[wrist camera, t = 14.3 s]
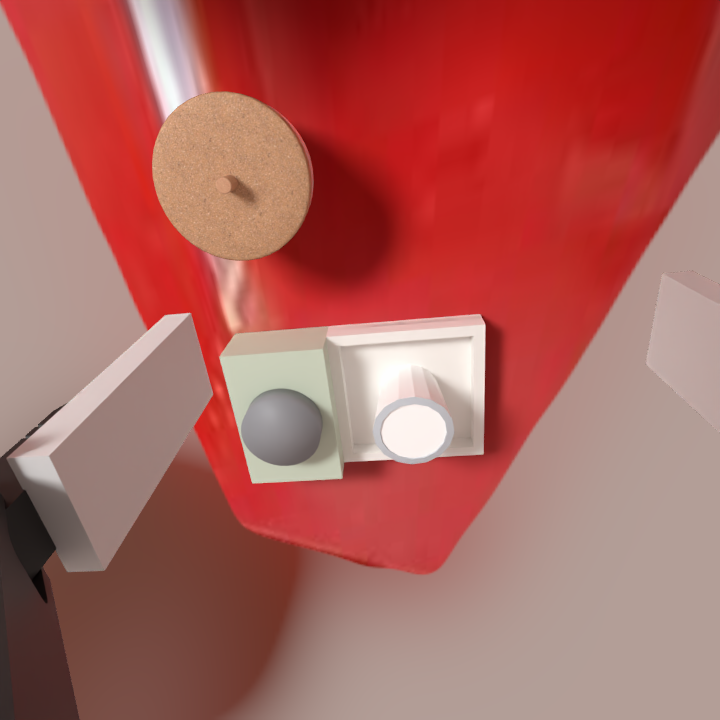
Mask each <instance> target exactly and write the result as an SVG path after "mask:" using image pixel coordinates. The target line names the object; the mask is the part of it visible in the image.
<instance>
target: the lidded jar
mask: <svg viewBox="0 0 720 720" xmlns="http://www.w3.org/2000/svg"><path fill="white" fill-rule="evenodd" d="M152 170H153V180H154V185H155V190H156V193H157V196H158V199H159V201H160V204H161V206H162V208H163V210H164V212H165V214H166V215H167V217H168V218H169V220H170V221H171V223H172V224H173V226H174V227H175V228H176V229H177V230H178V231H179V232H180V233H181V234H182V236H184V237H185V238H186V239H187V240H188V241H190V242H191V243H192V244H193V245H195V246H197V247H198V248H200V249H201V250H203V251H205V252H207V253H209V254H212V255H214V256H217V257H220V258H224V259H229V260H237V261H238V260H253V259H259V258H262V257H265V256H267V255H270V254H272V253H274V252H275V251H277V250H279V249H280V248H282V247H283V246H284V245H285V244H287V243H288V242H289V241H290V240H291V239H292V237H293V236H294V235H295V234H296V233H297V231H298V230H299V228H300V227H301V225H302V223H303V222H304V219H305V217H306V214H307V212H308V209H309V206H310V203H311V199H312V195H313V185H314V178H313V167H312V162H311V158H310V155H309V152H308V150H307V147H306V145H305V143H304V141H303V139H302V137H301V136H300V134H299V133H298V132H297V130H296V129H295V127H294V126H293V125H292V124H291V123H290V122H289V121H288V120H287V119H286V118H285V117H284V116H283V115H282V114H280V113H279V112H278V111H276V110H275V109H274V108H272V107H270V106H268V105H267V104H265V103H263V102H261V101H259V100H257V99H255V98H252V97H249V96H246V95H243V94H239V93H233V92H210V93H206V94H201V95H198V96H196V97H194V98H191V99H189V100H187V101H186V102H184V103H183V104H182V105H180V106H179V107H177V108H176V109H175V110H174V111H173V112H172V113H171V114H170V116H169V117H168V118H167V120H166V121H165V123H164V124H163V126H162V127H161V130H160V132H159V134H158V136H157V139H156V143H155V147H154V151H153V161H152Z"/></svg>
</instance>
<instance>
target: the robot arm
mask: <svg viewBox="0 0 720 720" xmlns="http://www.w3.org/2000/svg"><path fill="white" fill-rule="evenodd" d="M646 365H647V366H648V367H649V368H650V369H651V370H652V371H653V372H654V373H655V374H656V375H658V376H659V377H660V378H661V379H662V380H663V381H664V382H665V383H666V384H667V385H668V386H669V387H671V388H672V389H673V390H674V391H675V392H676V393H677V394H678V395H679V396H680V397H681V398H682V399H683V400H684V401H686V402H687V403H688V404H689V405H690V406H691V407H692V408H693V409H694V410H695V411H696V412H697V413H699V414H700V415H701V416H702V417H703V418H704V419H705V420H706V421H707V422H708V423H709V424H710V425H711V426H713V427H714V428H715V429H716V430H717V431H718V432H719V433H720V284H718V283H716V282H714V281H712V280H710V279H708V278H706V277H704V276H701V275H700V274H698V273H696V272H694V271H684V272H671V273H662V276H661V282H660V287H659V293H658V298H657V304H656V309H655V315H654V320H653V326H652V331H651V337H650V343H649V348H648V353H647V359H646ZM212 396H213V392H212V388H211V384H210V381H209V377H208V374H207V370H206V366H205V363H204V359H203V356H202V352H201V348H200V345H199V341H198V338H197V334H196V330H195V327H194V323H193V319H192V316H191V313H185V314H173V315H165V316H164V317H163V318H162V319H161V320H160V321H158V322H157V323H156V324H155V325H154V326H153V327H152V328H151V329H150V330H148V331H147V332H146V333H145V334H144V335H143V336H142V337H141V338H140V339H139V340H137V341H136V342H135V343H134V344H133V345H132V346H131V347H130V348H129V349H128V350H126V351H125V352H124V353H123V354H122V355H121V356H119V357H118V358H117V359H116V360H115V361H114V362H113V363H112V364H111V365H109V366H108V367H107V368H106V369H105V370H104V371H103V372H102V373H101V374H99V375H98V376H97V377H96V378H95V379H94V380H93V381H92V382H91V383H89V384H88V385H87V386H86V387H85V388H84V389H83V390H82V391H81V392H79V393H78V394H77V395H76V396H75V397H74V398H73V399H72V400H71V401H69V402H68V403H66V404H65V405H63V406H61V407H59V408H58V409H56V410H54V411H53V412H52V413H51V414H49V415H48V416H47V417H46V418H45V419H44V420H43V421H41V422H40V423H39V424H38V427H35V428H34V429H32V430H31V431H30V432H29V433H28V434H27V435H26V438H23V439H21V440H20V441H19V442H18V443H17V444H15V445H14V446H13V447H12V448H11V449H10V450H9V451H8V452H6V453H5V454H4V455H3V456H2V457H1V458H0V720H80V719H79V715H78V710H77V705H76V700H75V696H74V691H73V687H72V682H71V677H70V672H69V668H68V663H67V659H66V653H65V649H64V644H63V639H62V634H61V630H60V625H59V620H58V616H57V611H56V606H55V601H54V597H53V592H52V587H51V582H50V579H49V577H48V576H47V574H46V572H45V570H44V568H43V565H44V564H45V563H46V561H47V560H48V559H49V557H50V556H51V555H52V553H53V552H54V551H55V550H56V552H57V554H58V556H59V557H60V559H61V561H62V563H63V565H64V567H65V569H66V570H67V572H76V571H77V572H78V571H103V570H105V569H106V567H107V566H108V564H109V562H110V561H111V559H112V558H113V556H114V554H115V553H116V551H117V549H118V548H119V546H120V545H121V543H122V541H123V540H124V538H125V537H126V535H127V533H128V532H129V530H130V529H131V527H132V525H133V524H134V522H135V520H136V519H137V517H138V516H139V513H140V512H141V511H142V509H143V507H144V506H145V504H146V502H147V501H148V499H149V498H150V496H151V494H152V493H153V491H154V490H155V488H156V486H157V485H158V483H159V481H160V480H161V478H162V477H163V475H164V473H165V472H166V470H167V469H168V467H169V465H170V464H171V462H172V460H173V459H174V457H175V456H176V454H177V452H178V450H179V449H180V447H181V446H182V444H183V443H184V441H185V439H186V438H187V436H188V434H189V433H190V431H191V430H192V428H193V426H194V425H195V423H196V422H197V420H198V418H199V417H200V415H201V413H202V412H203V410H204V409H205V407H206V405H207V404H208V402H209V400H210V399H211V397H212Z"/></svg>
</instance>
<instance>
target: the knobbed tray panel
mask: <svg viewBox="0 0 720 720" xmlns="http://www.w3.org/2000/svg"><path fill="white" fill-rule="evenodd" d="M220 361H221V365H222V369H223V373H224V376H225V380H226V384H227V388H228V392H229V396H230V399H231V403H232V407H233V411H234V415H235V419H236V423H237V426H238V430H239V434H240V438H241V442H242V446H243V449H244V453H245V457H246V461H247V465H248V469H249V473H250V476H251V480H252V483H269V482H288V481H307V480H326V479H342V478H343V469H344V462H357V461H375V460H393V459H391V458H390V457H388V456H386V455H384V454H383V452H382V451H381V450H380V449H379V447H378V446H377V445H376V443H375V439H374V435H373V426H374V421H375V415H376V410H377V405H378V399H379V394H380V389H381V385H382V381H383V379H384V378H385V377H386V375H387V374H388V373H389V372H390V371H392V370H394V369H396V368H397V367H400V366H406V365H414V366H419V367H423V368H424V369H426V370H427V371H429V372H431V373H432V375H433V376H434V378H435V379H436V381H437V383H438V385H439V388H440V390H441V393H442V395H443V397H444V400H445V402H446V405H447V407H448V410H449V412H450V414H451V417H452V420H453V426H454V435H453V438H452V441H451V444H450V446H449V447H448V448H447V449H446V450H445V451H444V452H443V453H442V454H441V455H440V456H438V457H446V456H464V455H482V454H484V394H485V323H484V321H483V319H482V317H481V315H480V314H475V315H463V316H450V317H438V318H425V319H413V320H400V321H388V322H375V323H363V324H350V325H338V326H325V327H313V328H300V329H288V330H275V331H263V332H250V333H238V334H235V335H234V336H233V338H232V339H231V341H230V342H229V344H228V345H227V347H226V348H225V349H224V351H223V352H222V354H221V355H220Z"/></svg>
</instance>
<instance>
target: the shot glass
mask: <svg viewBox="0 0 720 720" xmlns="http://www.w3.org/2000/svg"><path fill="white" fill-rule="evenodd" d="M373 435H374V439H375V443H376V445H377V446H378V447H379V449H380V450H381V451H382V452H383V454H384V455H386V456H388V457H390V458H391V459H393V460H395V461H397V462H402V463H408V464H417V463H424V462H428V461H430V460H432V459H434V458H436V457H438V456H440V455H441V454H442V453H443V452H444V451H445V450H446V449H447V448H448V447H449V446H450V444H451V441H452V438H453V435H454V426H453V420H452V417H451V414H450V412H449V410H448V407H447V405H446V402H445V400H444V397H443V395H442V393H441V390H440V388H439V385H438V383H437V381H436V379H435V378H434V376H433V375H432V373H431V372H429V371H427V370H426V369H424V368H423V367H419V366H414V365H406V366H400V367H397V368H396V369H394V370H392V371H390V372H389V373H388V374H387V375H386V377H385V378H384V379H383V381H382V385H381V389H380V394H379V399H378V405H377V410H376V415H375V421H374V426H373Z"/></svg>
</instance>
